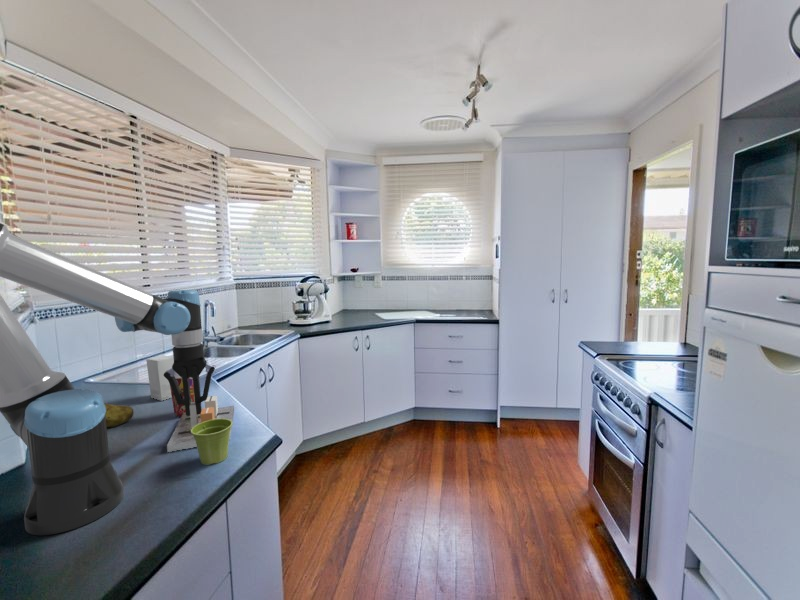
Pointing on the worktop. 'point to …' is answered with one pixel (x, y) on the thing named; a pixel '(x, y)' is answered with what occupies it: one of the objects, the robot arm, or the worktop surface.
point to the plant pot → (212, 440)
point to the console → (183, 430)
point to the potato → (117, 414)
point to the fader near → (207, 414)
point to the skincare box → (159, 376)
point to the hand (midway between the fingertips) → (195, 425)
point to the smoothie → (180, 408)
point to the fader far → (212, 403)
